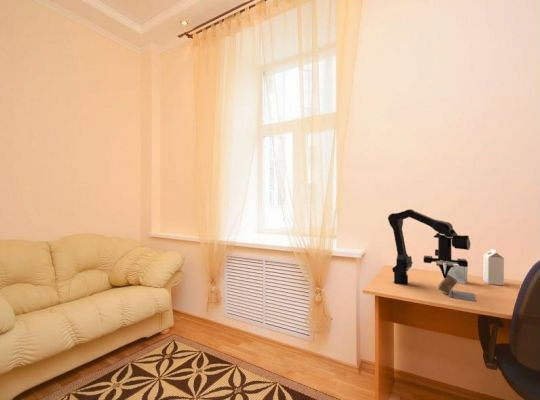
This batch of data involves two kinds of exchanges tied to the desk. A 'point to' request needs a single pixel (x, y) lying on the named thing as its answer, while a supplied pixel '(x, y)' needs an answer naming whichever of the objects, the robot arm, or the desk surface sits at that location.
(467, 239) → the robot arm
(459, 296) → the rubber mat
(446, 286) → the wooden block
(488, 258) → the milk carton
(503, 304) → the desk surface
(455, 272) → the skincare box
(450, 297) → the stop strip
